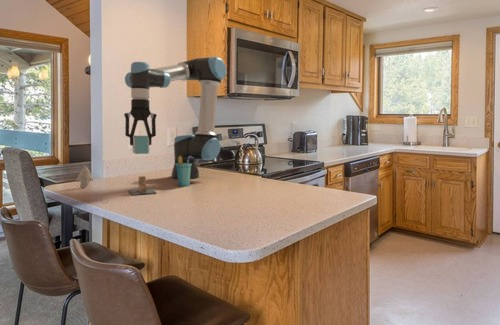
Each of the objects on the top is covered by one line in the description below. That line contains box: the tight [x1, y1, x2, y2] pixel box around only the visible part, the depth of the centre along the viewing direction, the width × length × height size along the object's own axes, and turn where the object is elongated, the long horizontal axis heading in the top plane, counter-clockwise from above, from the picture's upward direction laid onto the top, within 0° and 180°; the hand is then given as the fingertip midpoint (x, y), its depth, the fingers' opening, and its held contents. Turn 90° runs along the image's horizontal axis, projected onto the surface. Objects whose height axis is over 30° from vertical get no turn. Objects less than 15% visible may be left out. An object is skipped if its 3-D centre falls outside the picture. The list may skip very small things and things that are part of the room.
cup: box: [176, 156, 194, 187], centre depth 189 cm, size 14×8×15 cm, turn 46°
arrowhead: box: [76, 166, 94, 189], centre depth 182 cm, size 8×3×10 cm, turn 139°
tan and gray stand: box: [128, 175, 157, 196], centre depth 172 cm, size 10×10×7 cm
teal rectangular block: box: [133, 135, 149, 155], centre depth 171 cm, size 5×5×8 cm
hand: (140, 152), depth 171 cm, fingers closed on teal rectangular block, 5 cm apart
